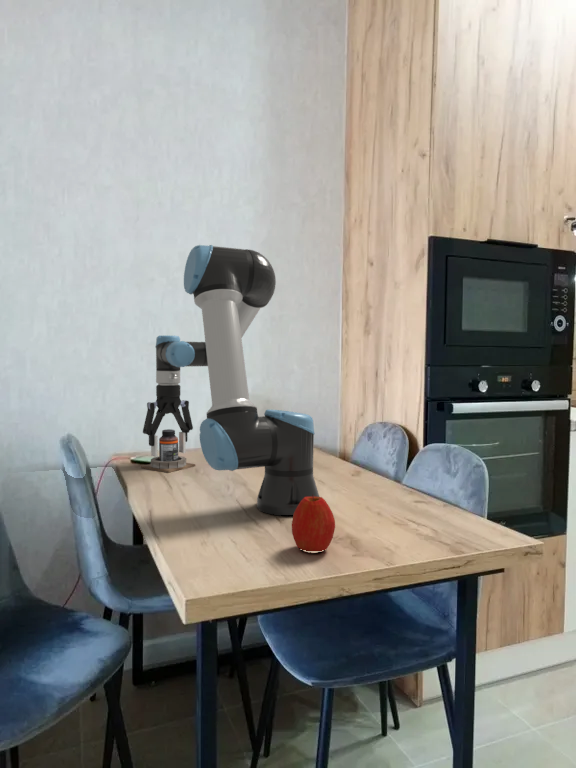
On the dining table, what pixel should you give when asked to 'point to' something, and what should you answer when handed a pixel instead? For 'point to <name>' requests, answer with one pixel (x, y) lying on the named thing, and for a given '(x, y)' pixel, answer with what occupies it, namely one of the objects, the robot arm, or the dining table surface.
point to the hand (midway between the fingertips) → (168, 454)
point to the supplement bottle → (168, 446)
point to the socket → (168, 465)
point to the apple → (313, 524)
